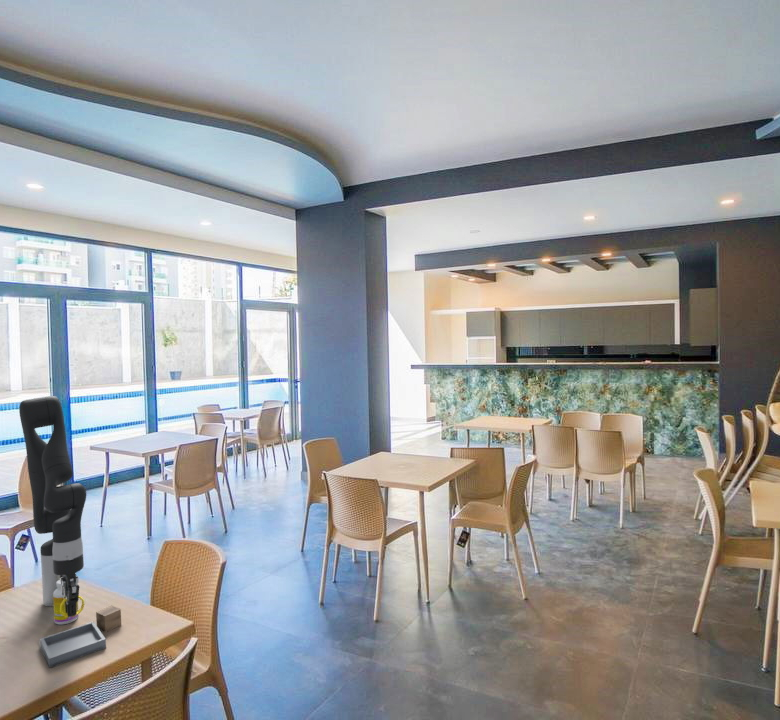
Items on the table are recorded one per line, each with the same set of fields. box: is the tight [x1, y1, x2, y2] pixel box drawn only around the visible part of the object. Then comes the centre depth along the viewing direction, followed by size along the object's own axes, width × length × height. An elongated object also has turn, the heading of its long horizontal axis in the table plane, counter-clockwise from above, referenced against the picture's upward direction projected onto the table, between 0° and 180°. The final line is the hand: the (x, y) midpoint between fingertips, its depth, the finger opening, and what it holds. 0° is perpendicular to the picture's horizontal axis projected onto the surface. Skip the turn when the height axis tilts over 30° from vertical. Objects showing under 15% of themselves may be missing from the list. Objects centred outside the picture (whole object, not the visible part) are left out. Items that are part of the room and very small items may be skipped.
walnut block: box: [95, 605, 122, 633], centre depth 169 cm, size 5×5×5 cm
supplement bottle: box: [53, 580, 79, 626], centre depth 174 cm, size 7×7×13 cm
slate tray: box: [39, 620, 107, 669], centre depth 157 cm, size 14×14×3 cm
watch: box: [60, 595, 85, 617], centre depth 157 cm, size 6×3×6 cm, turn 127°
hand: (71, 613), depth 157 cm, fingers closed on watch, 2 cm apart
